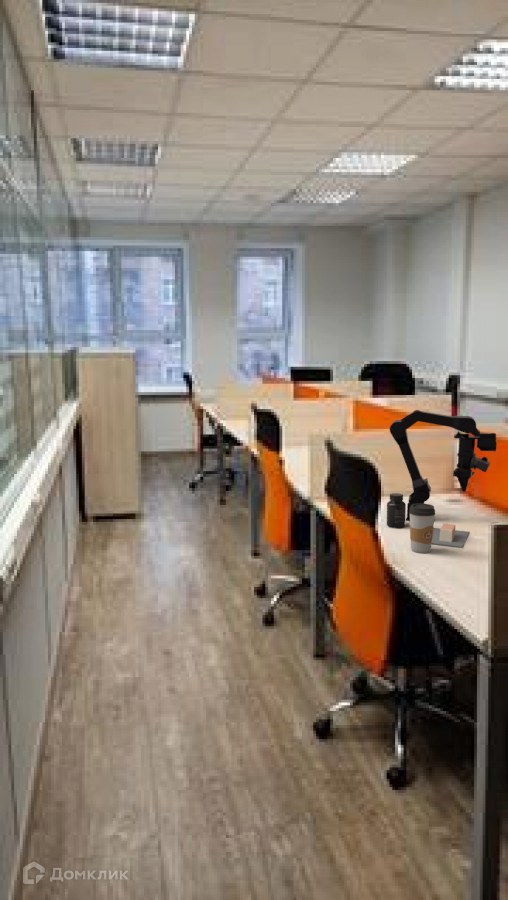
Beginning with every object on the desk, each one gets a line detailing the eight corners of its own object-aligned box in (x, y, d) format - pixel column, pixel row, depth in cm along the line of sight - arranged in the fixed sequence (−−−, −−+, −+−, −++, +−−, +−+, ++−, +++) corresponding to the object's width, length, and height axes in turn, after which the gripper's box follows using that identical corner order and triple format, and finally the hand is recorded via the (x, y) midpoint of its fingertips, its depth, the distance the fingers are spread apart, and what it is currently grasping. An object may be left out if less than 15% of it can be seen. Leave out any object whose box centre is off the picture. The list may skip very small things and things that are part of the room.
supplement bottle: (406, 524, 252) (408, 493, 250) (402, 529, 246) (404, 497, 244) (388, 522, 255) (389, 491, 253) (384, 527, 249) (385, 495, 247)
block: (443, 534, 238) (439, 540, 231) (443, 523, 238) (440, 529, 231) (455, 535, 237) (451, 542, 230) (455, 524, 236) (452, 530, 229)
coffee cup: (419, 555, 217) (421, 510, 214) (402, 548, 224) (404, 504, 221) (439, 552, 221) (441, 507, 218) (421, 545, 228) (423, 501, 225)
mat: (422, 543, 230) (422, 542, 230) (432, 528, 247) (432, 527, 247) (461, 548, 225) (461, 546, 224) (469, 532, 242) (469, 531, 241)
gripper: (486, 456, 238) (484, 499, 241) (491, 448, 255) (489, 488, 258) (454, 453, 243) (451, 496, 246) (461, 446, 260) (459, 485, 262)
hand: (464, 491), depth 253 cm, fingers closed
